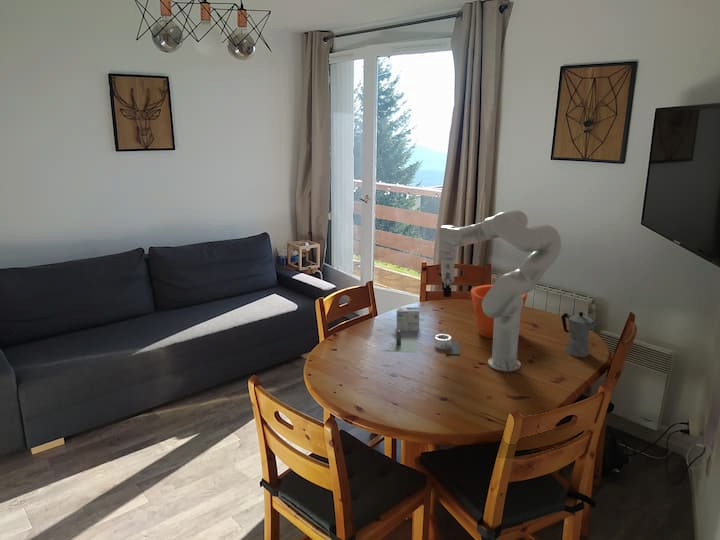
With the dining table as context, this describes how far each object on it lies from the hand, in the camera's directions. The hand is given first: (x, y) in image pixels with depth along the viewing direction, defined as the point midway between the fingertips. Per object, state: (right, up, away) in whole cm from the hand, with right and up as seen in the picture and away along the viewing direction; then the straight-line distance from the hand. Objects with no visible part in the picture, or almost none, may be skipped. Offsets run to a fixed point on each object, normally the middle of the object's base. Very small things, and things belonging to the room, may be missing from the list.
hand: (446, 293), depth 222 cm
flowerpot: (+26, -19, +16) cm, 36 cm away
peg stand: (-20, -23, +3) cm, 31 cm away
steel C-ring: (-2, -23, +1) cm, 23 cm away
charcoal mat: (-2, -24, +1) cm, 24 cm away
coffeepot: (+53, -25, -6) cm, 59 cm away
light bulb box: (-15, -19, +22) cm, 33 cm away
